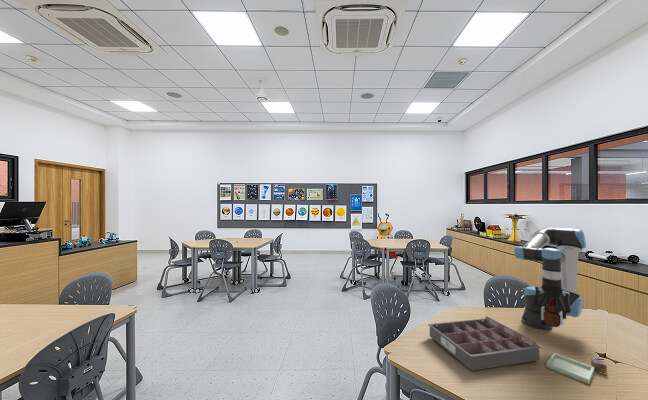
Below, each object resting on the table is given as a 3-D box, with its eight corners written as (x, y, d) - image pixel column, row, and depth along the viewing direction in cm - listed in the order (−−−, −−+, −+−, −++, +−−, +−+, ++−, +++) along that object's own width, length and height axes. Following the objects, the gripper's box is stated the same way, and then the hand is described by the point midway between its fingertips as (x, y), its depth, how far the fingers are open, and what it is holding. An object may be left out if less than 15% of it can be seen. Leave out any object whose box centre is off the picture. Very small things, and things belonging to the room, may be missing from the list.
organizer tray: (427, 338, 145) (427, 320, 145) (486, 331, 153) (486, 314, 153) (470, 374, 114) (470, 352, 114) (542, 363, 122) (541, 342, 122)
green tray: (546, 367, 119) (546, 363, 119) (554, 356, 127) (554, 352, 127) (589, 384, 108) (589, 379, 108) (594, 371, 116) (594, 367, 116)
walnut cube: (594, 371, 116) (594, 362, 116) (591, 366, 120) (591, 358, 120) (606, 374, 114) (606, 365, 114) (603, 369, 118) (603, 361, 118)
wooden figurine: (557, 324, 135) (556, 296, 135) (563, 329, 130) (562, 300, 130) (541, 322, 137) (541, 294, 137) (547, 327, 132) (546, 298, 132)
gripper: (526, 275, 139) (526, 317, 139) (576, 284, 123) (577, 331, 123) (530, 272, 144) (531, 313, 144) (579, 281, 128) (580, 326, 128)
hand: (552, 321), depth 134 cm, fingers closed on wooden figurine, 7 cm apart
